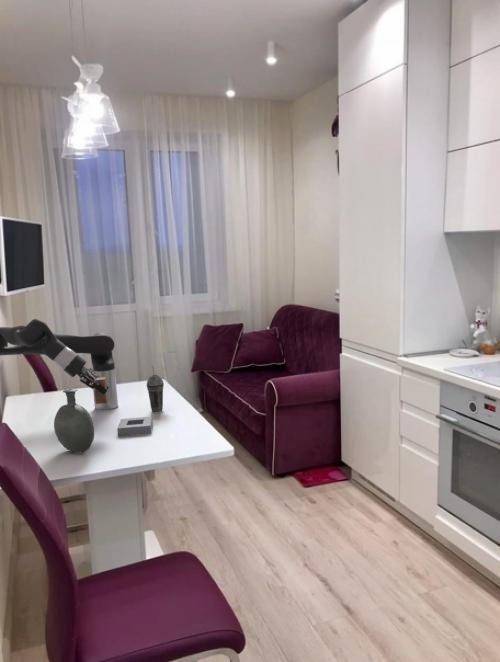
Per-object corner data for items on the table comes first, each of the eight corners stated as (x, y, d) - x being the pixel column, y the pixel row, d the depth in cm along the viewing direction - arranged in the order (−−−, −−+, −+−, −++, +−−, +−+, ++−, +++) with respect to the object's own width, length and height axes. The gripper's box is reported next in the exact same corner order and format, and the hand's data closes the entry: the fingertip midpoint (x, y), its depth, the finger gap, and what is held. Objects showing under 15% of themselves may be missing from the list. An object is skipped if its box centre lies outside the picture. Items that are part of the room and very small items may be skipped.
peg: (95, 404, 194) (93, 380, 193) (97, 401, 198) (95, 377, 197) (106, 403, 195) (104, 379, 194) (108, 400, 199) (106, 377, 198)
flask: (88, 442, 188) (82, 382, 185) (99, 456, 174) (93, 391, 171) (54, 449, 183) (47, 387, 180) (63, 464, 168) (56, 397, 165)
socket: (117, 436, 193) (117, 428, 193) (121, 426, 205) (121, 418, 204) (151, 433, 194) (150, 425, 194) (152, 423, 206) (152, 416, 206)
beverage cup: (167, 408, 227) (164, 363, 224) (163, 413, 220) (159, 366, 217) (151, 408, 228) (147, 363, 225) (146, 413, 221) (142, 367, 218)
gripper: (67, 365, 200) (102, 394, 203) (58, 373, 186) (96, 403, 189) (80, 350, 200) (115, 379, 203) (72, 357, 186) (110, 388, 189)
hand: (106, 391), depth 196 cm, fingers closed on peg, 4 cm apart
